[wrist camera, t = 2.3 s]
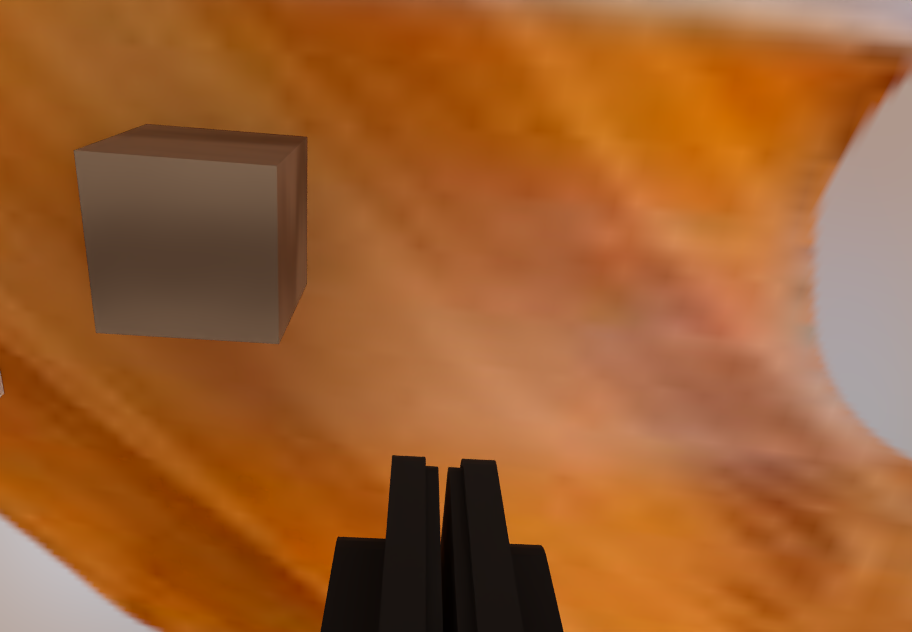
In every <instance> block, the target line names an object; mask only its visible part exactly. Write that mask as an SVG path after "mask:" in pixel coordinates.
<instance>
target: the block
mask: <svg viewBox="0 0 912 632" xmlns="http://www.w3.org/2000/svg"><path fill="white" fill-rule="evenodd" d="M74 156H75V164H76V172H77V180H78V188H79V197H80V205H81V213H82V221H83V230H84V238H85V246H86V254H87V263H88V271H89V279H90V287H91V295H92V304H93V312H94V320H95V328H96V333H105V334H122V335H138V336H155V337H171V338H188V339H205V340H221V341H238V342H254V343H271V344H279V343H280V341H281V339H282V336H283V334H284V332H285V330H286V328H287V326H288V323H289V321H290V319H291V317H292V315H293V313H294V310H295V308H296V306H297V304H298V302H299V300H300V297H301V295H302V293H303V291H304V289H305V287H306V284H307V137H302V136H289V135H277V134H264V133H252V132H239V131H227V130H214V129H202V128H189V127H177V126H164V125H152V124H146V125H143V126H140V127H137V128H134V129H132V130H129V131H126V132H123V133H121V134H118V135H115V136H112V137H110V138H107V139H104V140H101V141H99V142H96V143H93V144H90V145H87V146H85V147H82V148H79V149H76V150H74Z"/></svg>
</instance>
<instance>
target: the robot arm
mask: <svg viewBox="0 0 912 632" xmlns="http://www.w3.org/2000/svg"><path fill="white" fill-rule="evenodd" d="M321 632H563V628H562V623H561V619H560V614H559V610H558V606H557V601H556V597H555V593H554V588H553V584H552V579H551V575H550V571H549V566H548V562H547V557H546V554H545V551H544V548H543V547H542V546H541V545H524V544H509V539H508V533H507V527H506V520H505V514H504V508H503V502H502V496H501V490H500V483H499V477H498V471H497V465H496V461H495V460H476V459H462V460H461V465H460V468H455V467H449V468H448V473H447V483H446V494H445V504H444V515H443V525H442V536H441V543H440V509H439V474H438V467H434V466H426V458H425V457H415V456H395V455H392V466H391V479H390V491H389V504H388V517H387V530H386V539H379V538H355V537H338V538H337V541H336V546H335V552H334V558H333V563H332V569H331V575H330V581H329V586H328V592H327V598H326V604H325V609H324V615H323V621H322V627H321Z"/></svg>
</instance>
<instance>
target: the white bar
mask: <svg viewBox="0 0 912 632" xmlns="http://www.w3.org/2000/svg"><path fill="white" fill-rule="evenodd" d="M3 394H4V390H3V384H2V379H1V373H0V397H1V396H2V395H3Z"/></svg>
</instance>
